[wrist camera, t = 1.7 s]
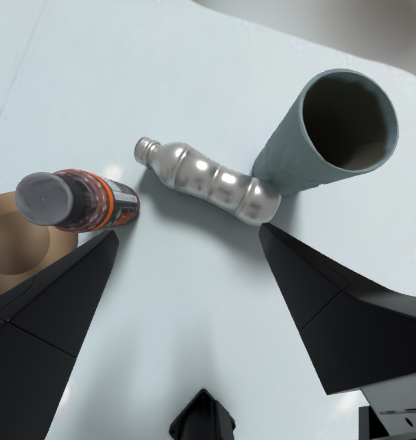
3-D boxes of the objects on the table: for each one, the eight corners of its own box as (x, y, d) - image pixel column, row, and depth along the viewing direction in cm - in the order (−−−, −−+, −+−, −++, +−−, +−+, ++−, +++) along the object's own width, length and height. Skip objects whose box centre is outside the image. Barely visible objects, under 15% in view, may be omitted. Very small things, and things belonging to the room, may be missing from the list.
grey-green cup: (267, 134, 26) (327, 48, 14) (316, 165, 26) (417, 106, 14) (238, 181, 25) (278, 131, 13) (290, 214, 25) (378, 194, 13)
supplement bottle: (120, 233, 22) (41, 257, 11) (90, 202, 22) (-24, 196, 11) (150, 206, 22) (101, 203, 11) (121, 175, 22) (40, 139, 11)
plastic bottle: (282, 183, 22) (158, 124, 22) (294, 202, 17) (128, 123, 16) (258, 216, 26) (152, 167, 25) (262, 241, 20) (124, 178, 20)
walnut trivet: (13, 317, 20) (2, 321, 19) (-57, 240, 20) (-71, 241, 19) (99, 242, 22) (94, 243, 21) (34, 173, 22) (26, 170, 21)
